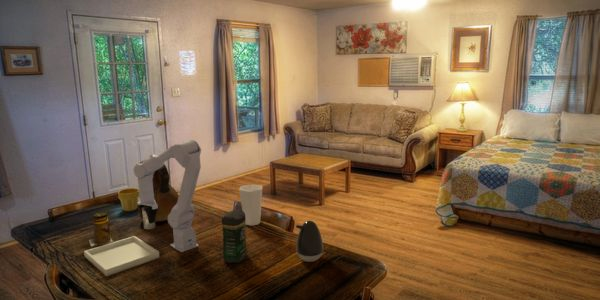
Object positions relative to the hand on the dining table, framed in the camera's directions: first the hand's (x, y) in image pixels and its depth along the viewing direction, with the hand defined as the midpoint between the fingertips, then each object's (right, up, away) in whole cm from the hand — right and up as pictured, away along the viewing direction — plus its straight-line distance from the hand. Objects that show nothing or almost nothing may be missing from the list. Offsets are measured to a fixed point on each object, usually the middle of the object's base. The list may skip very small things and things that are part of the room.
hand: (149, 221), depth 178 cm
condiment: (-20, -9, 0) cm, 22 cm away
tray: (-5, -11, -16) cm, 20 cm away
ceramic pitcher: (-3, -3, +24) cm, 24 cm away
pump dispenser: (+68, -11, -19) cm, 72 cm away
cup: (+42, -4, +17) cm, 46 cm away
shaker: (0, -3, 0) cm, 3 cm away
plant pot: (-24, 0, +39) cm, 46 cm away
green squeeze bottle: (+40, -11, -18) cm, 45 cm away
